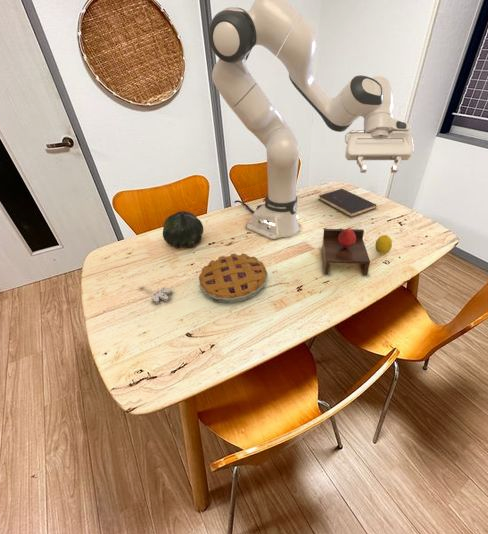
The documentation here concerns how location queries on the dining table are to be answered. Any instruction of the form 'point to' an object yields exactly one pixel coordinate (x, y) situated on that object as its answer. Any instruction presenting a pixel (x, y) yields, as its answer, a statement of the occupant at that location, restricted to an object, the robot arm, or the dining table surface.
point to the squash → (182, 230)
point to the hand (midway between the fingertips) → (378, 172)
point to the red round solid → (347, 238)
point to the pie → (233, 278)
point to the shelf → (344, 250)
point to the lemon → (383, 244)
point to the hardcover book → (347, 202)
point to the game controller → (160, 295)
